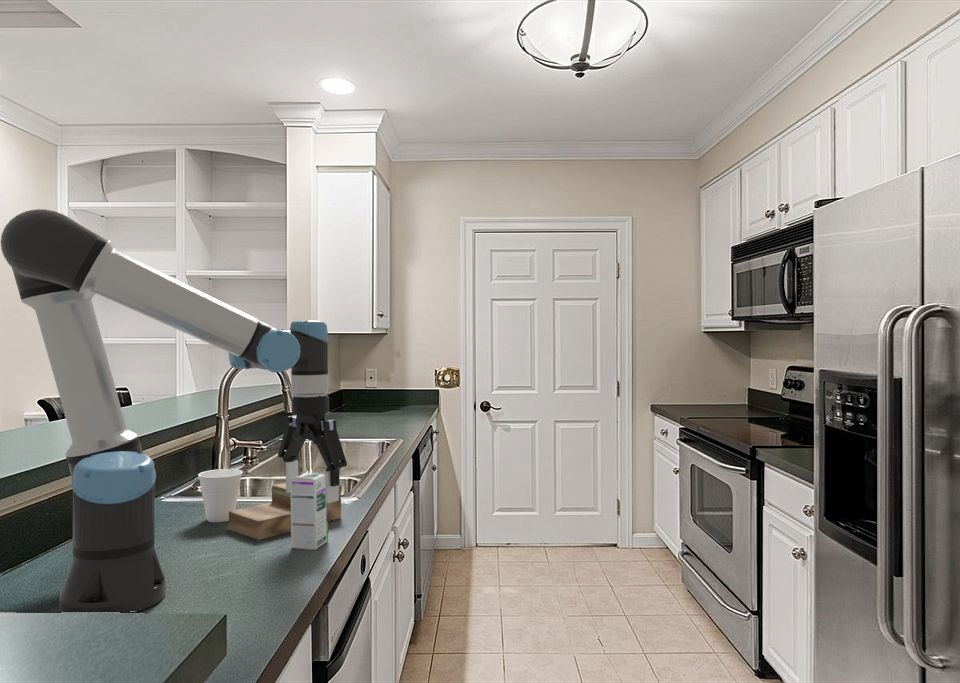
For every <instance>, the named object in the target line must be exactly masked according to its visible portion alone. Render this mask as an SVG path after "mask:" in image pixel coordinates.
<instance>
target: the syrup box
mask: <svg viewBox="0 0 960 683" xmlns="http://www.w3.org/2000/svg"><path fill="white" fill-rule="evenodd" d="M290 484H291V532H290V541H291V542H290V546H291V547H290V548H292V549H298V550H308V551H309V550H312V551H316V550H318V548H320V547H322V546H323V545H325V544H326V543H327V542H329V522H328V503H326V500H325V473H320V472H307V473H306V472H304V473H302V474H301V475H299V476H298V477H295V478H292V479H291V480H290Z"/></svg>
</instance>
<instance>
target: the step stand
mask: <svg viewBox="0 0 960 683" xmlns="http://www.w3.org/2000/svg"><path fill="white" fill-rule="evenodd" d="M342 489H343V487H342V485H341V484H339V501H335V502H331V503H328V521H329V522H332V521H331V520H333V521H335V520H334V519H337V520H339V519H338V518H340V519H341V518H342ZM228 530H229V531H232V532H235V533H238V534H241V535H243V536H246V537H250V538H251V539H255V540H257V541H260V540H263V539H264V540H265V539H267V538H271V537H275V536H280V535H282V534H287V533H291V493H286V482H282V483H278V484H272V485H271V502H267V503H261V504H258V505H254V506H253V505H252V506H247V507H244V508H238V509H236V510H234V511H229V521H228Z"/></svg>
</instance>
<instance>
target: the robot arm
mask: <svg viewBox="0 0 960 683" xmlns="http://www.w3.org/2000/svg"><path fill="white" fill-rule="evenodd" d="M0 249H1V252H2V256H3V257H4V259H5V261H6V262H7V264H8V266H10V268H11V270H12V273H13V276H14V279H15V282H16V283H15V284H16V286H17V289H18V293H19V297H20V300H21V303H22V304H25V305H27V306H28V307H30V308H32V309H33V310H34V311H35V314H36V317H37V318H36V319H37V322H38V325H39V328H40V333H41V336H42V340H43V343H44V346H45V350H46V354H47V358H48V360H49V364H50V366H51V367H50V368H51V371H52V374H53V378H54V381H55V385H56V386H55V387H56V388H57V392H58V396H59V400H60V402H61V403H60V404H61V407H62V410H63V413H64V416H65V420H66V424H67V427H68V431H69V435H70V437H71V442H72V443H71V445H70V446H69V448H68V449H67V451H66V452H65V459H66V462H67V465H68V469H69V472H70V475H71V476H70V477H71V481H70V482H71V488H72V559H71V564H70V566H69V569H68V572H67V575H66V577H65V580H64V583H63V586H62V588H61V591H60V594H59V599H58V600H59V601H58V605H59V607H58V611H59V613H60V612H120V613H132V614H135V613H136V612H130V611H138V612H140V609H144V610H146V609H148V608H151V607H152V606H155V605H156V604H158V603H159V602H161V601H162V600H163V599H164V598H165V597H166V594H167V579H166V576H165V573H164V570H163V568H162V565H161V563H160V561H159V557H158V555H157V552H156V548H155V507H156V506H155V499H156V498H155V489H156V488H155V484H156V481H157V480H156V479H157V473H156V469H155V462H154V460H153V459H152V457H150V456H149V455H147V454H145V453H144V452H143V448H142V445H141V441H140V437H139V434H138V433H136V432H134V431H132V430H130V429H128V428H127V425H126V421H125V418H124V414H123V411H122V407H121V403H120V400H119V399H120V398H119V396H118V392H117V389H116V385H115V381H114V379H113V374H112V371H111V367H110V362H109V359H108V356H107V352H106V349H105V345H104V341H103V337H102V334H101V329H100V326H99V322H98V319H97V315H96V311H95V308H94V305H93V297H94V296H95V295H99V296H101V297H103V298H106V299H108V300H111V301H113V302H115V303H117V304H120V305H122V306H124V307H125V308H128V309H130V310H133V311H135V312H137V313H140V314H142V315H144V316H146V317H147V318H150V319H153V320H155V321H158V322H159V323H162V324H164V325H167V326H168V327H171V328H173V329H175V330H178V331H180V332H182V333H185V334H187V335H189V336H191V337H193V338H196V339H198V340H199V341H202V342H204V343H207V344H209V345H211V346H214V347H216V348H218V349H221V350H222V351H225V352H227V353H228V361H229V364H230V366H231V368H233V369H237V370H238V369H240V370H241V369H243V370H250V369H260V370H264V371H266V370H267V371H269V372H272V373H281V372H284V371H288V370H290V369H291V370H290V381H291V382H290V385H291V386H290V392H291V394H292V395H293V396H292V397H291V414H292V415H289V416H288V415H287V417H286V420H285V421H286V422H285V423H286V424H285V428H284V431H283V435H282V439H281V442H280V446H279V449H278V452H277V456H278V458H282V461H283V462H284V474H285V475H284V476H285V483H286V493H291V484H290V480H291V479H292V478H295V477H298V476H300V475H299V458H298V455H299V454H300V451H301V449H302V448H303V446H304V444H305V442H306V441H307V440H308V441H311V442H312V443H313V444H315V445H316V447H317V450H318V452H319V453H320V455H321V457H322V459H323V462H324V464H325V465H326V469H325V470H324V474H325V500H326V503H331V502H335V501H339V485H340V482H341V481H340V471H341V469H342V468H346V467H347V466H348V462H347V459H346V456H345V453H344V450H343V447H342V444H341V443H342V442H341V440H340V437H339V433H338V430H337V421H336V420H335V419H328V420H326V414H328V413H329V412H330V400H329V399H330V397H329V396H328V395H326V394H327V393H329V344H330V343H329V332H328V326H327V323H326V322H325V321H323V320H293V321H291V323H290V326H289V329H287V330H285V329H283V328H281V329H280V328H276V327H274V326H272V325H270V324H268V323H266V322H263V321H261V320H259V319H258V318H255V317H254V316H251V315H250V314H247V313H245V312H243V311H241V310H239V309H237V308H235V307H233V306H231V305H229V304H227V303H225V302H222V301H220V300H218V299H216V298H214V297H212V296H210V295H208V294H206V293H204V292H202V291H200V290H198V289H196V288H194V287H191V286H190V285H187V284H185V283H184V282H181V281H179V280H177V279H175V278H173V277H171V276H169V275H166V274H165V273H163V272H161V271H159V270H157V269H154V268H152V267H150V266H148V265H146V264H144V263H142V262H140V261H138V260H136V259H134V258H132V257H130V256H128V255H126V254H123V253H121V252H120V251H117V250H116V249H115V248H114V245H113V243H112V241H111V240H109V239H107V238H105V237H103V236H101V235H100V234H97V232H96V233H95V232H93V231H92V230H90V229H89V228H87V227H85V226H83V225H81V224H80V223H78V222H77V221H75V220H74V219H72V218H70V217H69V216H66V215H65V214H63V213H60V212H58V211H55V210H49V209H44V208H43V209H40V208H39V209H38V208H37V209H30V210H27V211H23V212H21V213H19V214H17V215H15V216H14V217H12V218H11V219H9V221H8V223H7V224H6V225H5V226H4V228H3V231H2V233H1V235H0Z"/></svg>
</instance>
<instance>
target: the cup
mask: <svg viewBox="0 0 960 683" xmlns="http://www.w3.org/2000/svg"><path fill="white" fill-rule="evenodd" d="M243 473H244V471H243V470H240V469H235V468H219V469H212V470H211V469H208V470H206V471H202V472H200V473H198V474H197V476H198V478H199V485H200V489H201V496H202V501H203V506H204V514H205V519H206V520H207V522H210V523H218V524H219V523H224V522H229V511H234V510H237V509H236V508H237V503H238V496H239V490H240V487H241V486H240V485H241V480H242V475H243Z"/></svg>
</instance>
